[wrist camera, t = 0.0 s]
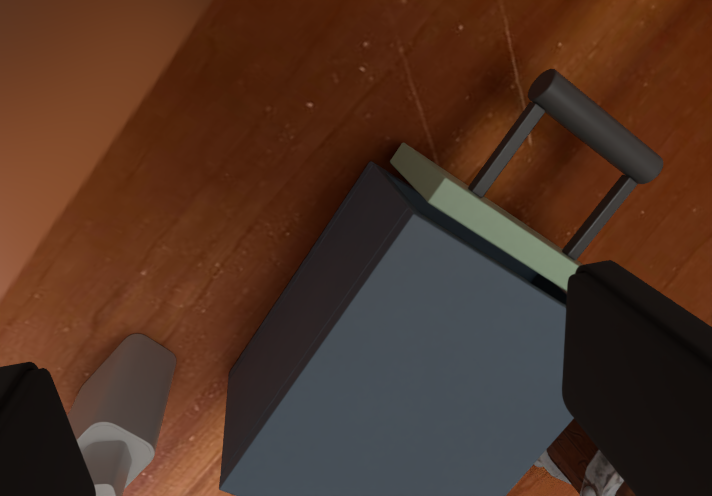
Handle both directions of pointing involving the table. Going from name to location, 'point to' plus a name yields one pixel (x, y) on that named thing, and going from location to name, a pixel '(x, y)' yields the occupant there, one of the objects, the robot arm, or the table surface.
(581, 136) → the drawer
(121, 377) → the power adapter
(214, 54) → the table surface
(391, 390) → the cabinet
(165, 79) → the table surface
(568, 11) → the table surface
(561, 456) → the mug
